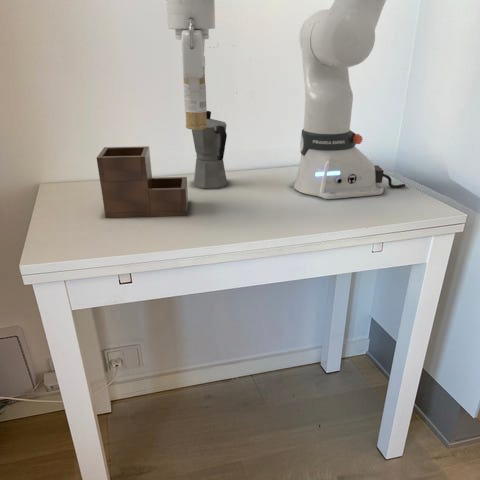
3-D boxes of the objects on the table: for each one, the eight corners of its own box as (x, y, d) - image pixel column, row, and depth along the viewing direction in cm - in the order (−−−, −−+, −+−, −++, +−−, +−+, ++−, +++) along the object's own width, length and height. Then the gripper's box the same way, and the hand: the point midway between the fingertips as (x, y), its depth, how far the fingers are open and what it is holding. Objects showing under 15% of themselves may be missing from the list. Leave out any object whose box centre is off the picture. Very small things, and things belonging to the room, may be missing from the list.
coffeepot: (184, 180, 134) (179, 108, 124) (215, 175, 138) (212, 105, 128) (209, 195, 122) (206, 118, 113) (242, 189, 126) (242, 114, 117)
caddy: (188, 201, 118) (184, 145, 112) (187, 215, 110) (183, 155, 104) (112, 203, 118) (104, 147, 111) (105, 217, 109) (96, 157, 103)
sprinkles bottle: (199, 125, 105) (195, 53, 98) (211, 128, 102) (209, 54, 95) (181, 128, 103) (176, 54, 96) (193, 131, 100) (190, 56, 93)
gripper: (209, 18, 84) (212, 106, 91) (207, 17, 101) (210, 91, 108) (171, 18, 83) (177, 107, 91) (176, 17, 101) (181, 92, 108)
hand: (195, 98), depth 100 cm, fingers closed on sprinkles bottle, 4 cm apart
